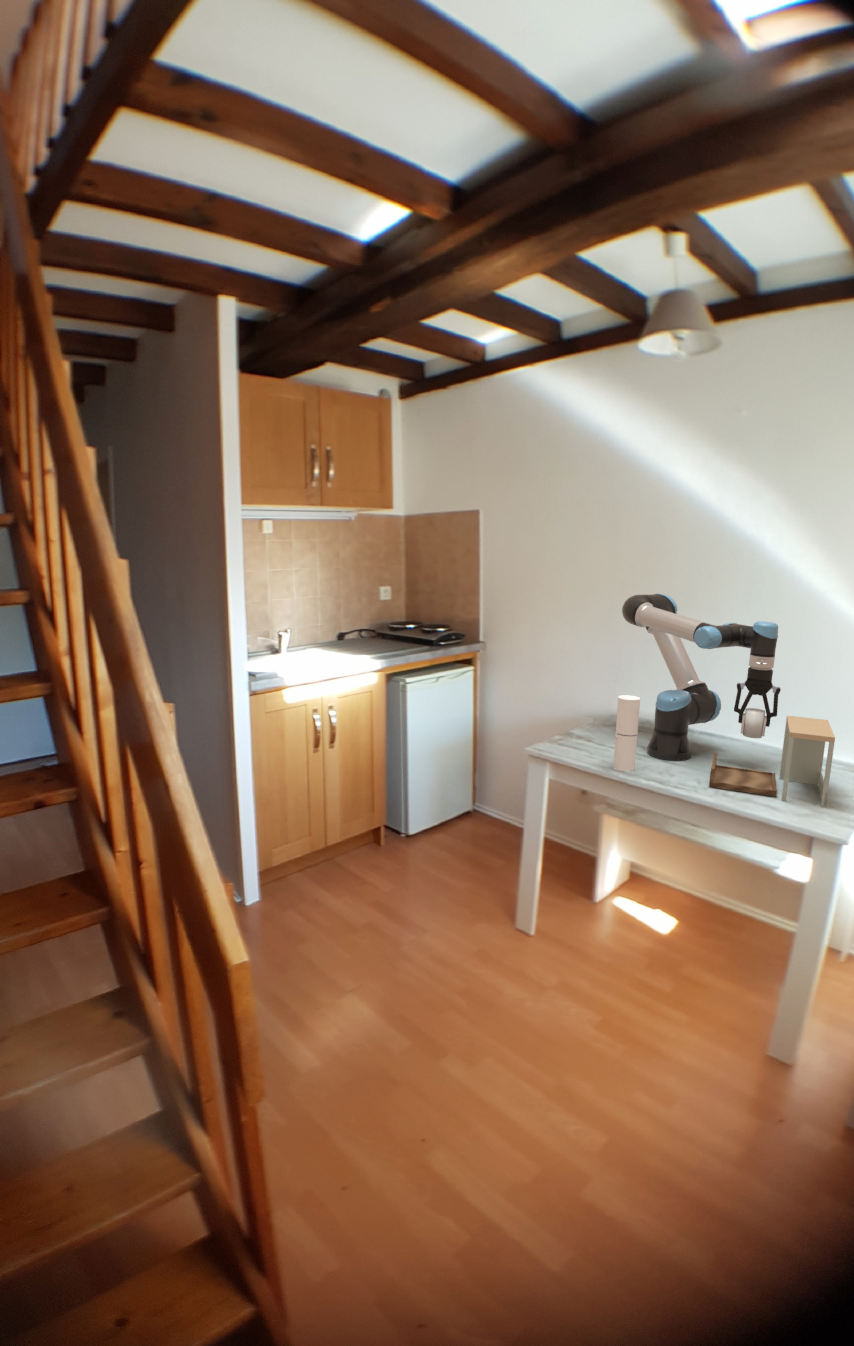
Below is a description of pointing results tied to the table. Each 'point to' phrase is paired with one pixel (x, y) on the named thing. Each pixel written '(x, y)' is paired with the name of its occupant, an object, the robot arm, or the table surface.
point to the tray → (742, 779)
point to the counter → (806, 753)
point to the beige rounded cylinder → (753, 723)
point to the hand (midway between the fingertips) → (752, 733)
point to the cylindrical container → (626, 732)
